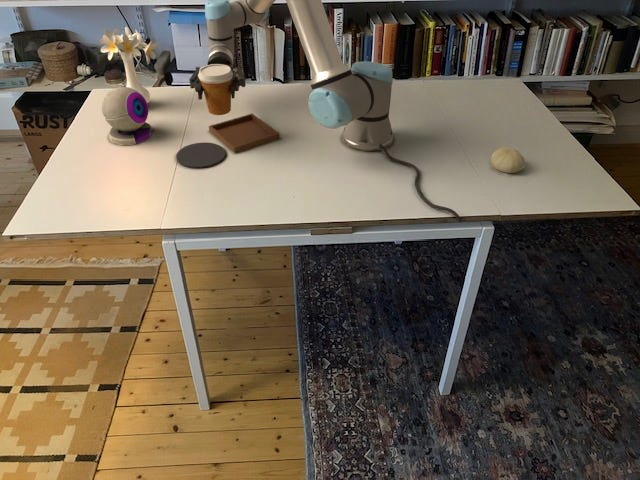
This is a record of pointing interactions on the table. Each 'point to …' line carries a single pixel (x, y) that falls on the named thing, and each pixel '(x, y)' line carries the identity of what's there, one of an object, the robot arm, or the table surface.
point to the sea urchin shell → (507, 160)
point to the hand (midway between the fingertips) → (216, 94)
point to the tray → (244, 133)
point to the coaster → (200, 155)
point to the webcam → (126, 116)
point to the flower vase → (128, 54)
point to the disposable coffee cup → (217, 87)
